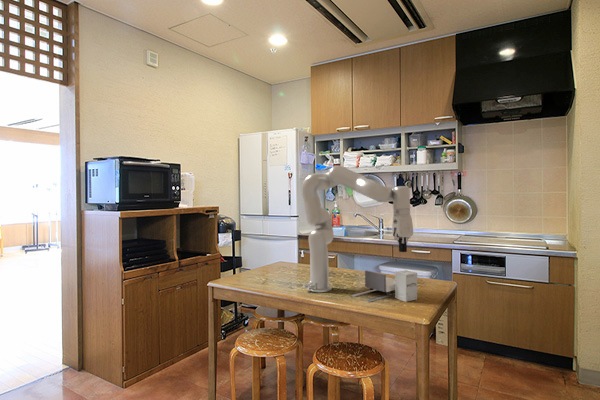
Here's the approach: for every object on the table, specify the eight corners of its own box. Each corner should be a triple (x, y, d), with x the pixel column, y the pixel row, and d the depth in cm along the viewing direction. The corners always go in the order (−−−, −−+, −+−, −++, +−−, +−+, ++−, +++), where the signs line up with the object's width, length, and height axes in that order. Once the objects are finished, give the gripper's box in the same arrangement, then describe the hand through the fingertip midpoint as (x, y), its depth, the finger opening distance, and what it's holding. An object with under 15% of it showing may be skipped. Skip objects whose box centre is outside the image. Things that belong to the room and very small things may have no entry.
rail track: (370, 302, 160) (370, 294, 160) (348, 296, 171) (348, 287, 171) (409, 292, 176) (409, 284, 176) (386, 286, 188) (386, 279, 188)
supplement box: (405, 302, 160) (405, 274, 160) (394, 298, 167) (394, 271, 167) (417, 299, 164) (417, 272, 164) (406, 295, 170) (406, 269, 170)
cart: (385, 296, 166) (385, 275, 166) (363, 290, 177) (363, 270, 177) (406, 291, 175) (405, 270, 175) (383, 285, 186) (383, 266, 186)
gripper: (398, 213, 158) (399, 254, 158) (418, 211, 167) (419, 250, 167) (384, 213, 164) (386, 252, 164) (405, 211, 173) (406, 249, 173)
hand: (402, 251), depth 166 cm, fingers closed
